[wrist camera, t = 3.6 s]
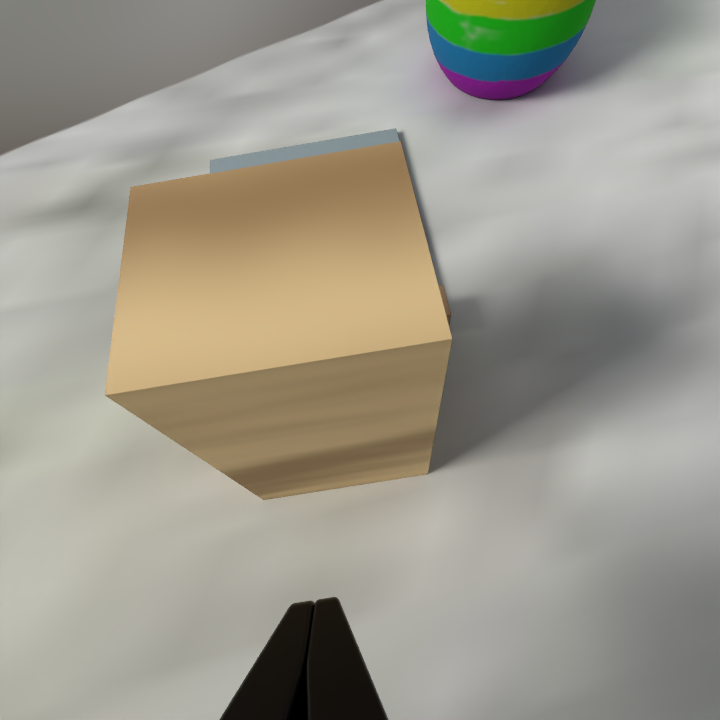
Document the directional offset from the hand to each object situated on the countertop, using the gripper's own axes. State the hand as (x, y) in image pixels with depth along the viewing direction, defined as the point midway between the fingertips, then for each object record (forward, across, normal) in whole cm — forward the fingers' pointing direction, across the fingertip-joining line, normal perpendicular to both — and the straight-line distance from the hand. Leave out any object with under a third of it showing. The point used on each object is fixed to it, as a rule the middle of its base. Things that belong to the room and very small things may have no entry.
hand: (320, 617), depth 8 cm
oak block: (+10, 0, +1) cm, 10 cm away
